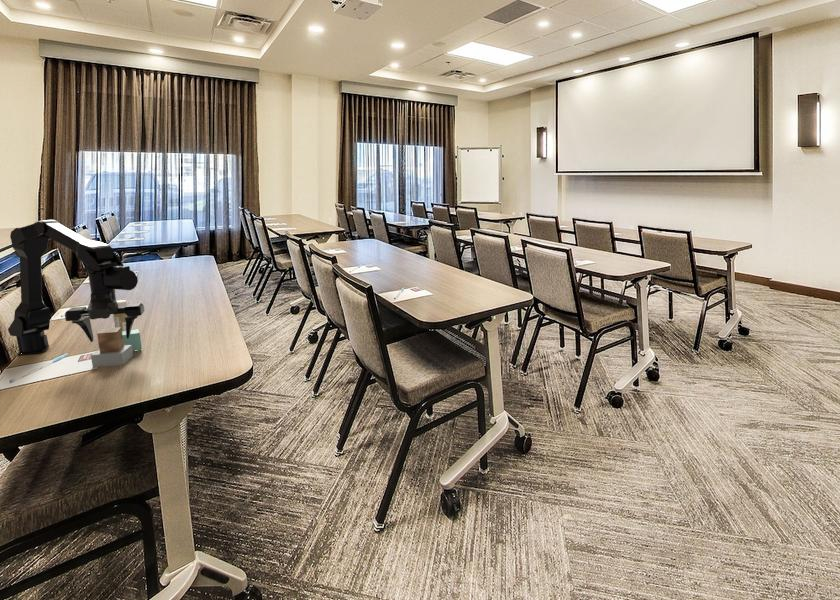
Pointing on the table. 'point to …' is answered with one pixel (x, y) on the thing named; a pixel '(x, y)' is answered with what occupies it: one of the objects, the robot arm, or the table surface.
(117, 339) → the walnut block
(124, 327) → the sprinkles bottle
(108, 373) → the table surface
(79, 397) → the table surface
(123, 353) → the grey slab
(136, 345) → the teal block
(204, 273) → the table surface
